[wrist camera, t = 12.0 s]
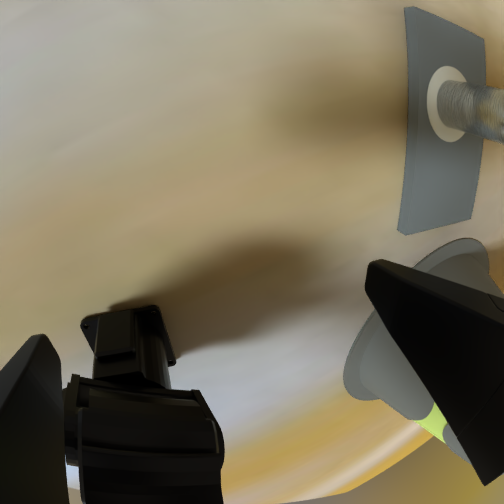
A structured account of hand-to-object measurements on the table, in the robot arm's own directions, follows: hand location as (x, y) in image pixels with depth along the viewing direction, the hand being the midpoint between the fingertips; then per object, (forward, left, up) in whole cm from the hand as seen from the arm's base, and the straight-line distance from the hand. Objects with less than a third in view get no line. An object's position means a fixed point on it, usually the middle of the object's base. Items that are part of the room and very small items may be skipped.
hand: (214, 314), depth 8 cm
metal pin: (+5, -23, -12) cm, 26 cm away
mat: (+3, -24, -13) cm, 27 cm away
